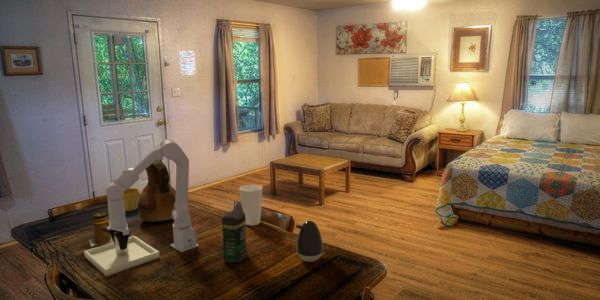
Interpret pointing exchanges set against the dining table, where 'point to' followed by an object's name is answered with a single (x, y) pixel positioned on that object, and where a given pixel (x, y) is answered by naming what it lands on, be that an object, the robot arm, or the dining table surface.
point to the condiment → (100, 229)
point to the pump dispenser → (309, 242)
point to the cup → (251, 203)
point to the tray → (112, 263)
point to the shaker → (117, 248)
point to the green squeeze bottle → (234, 236)
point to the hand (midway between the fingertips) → (120, 247)
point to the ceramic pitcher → (157, 194)
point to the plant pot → (131, 199)
